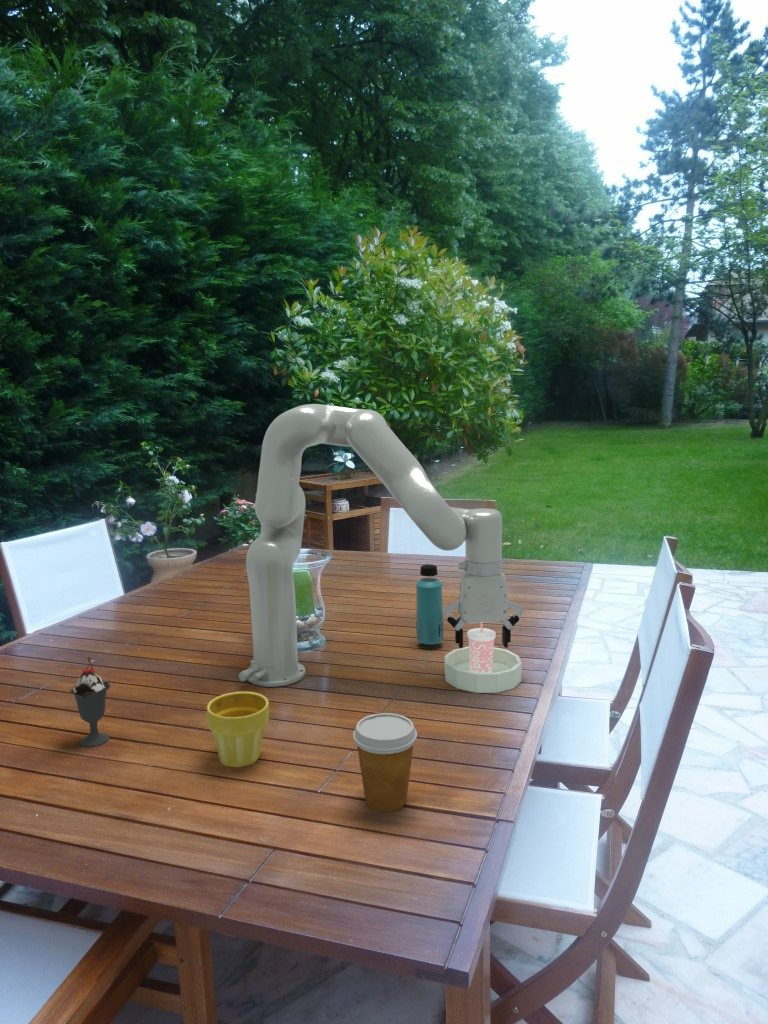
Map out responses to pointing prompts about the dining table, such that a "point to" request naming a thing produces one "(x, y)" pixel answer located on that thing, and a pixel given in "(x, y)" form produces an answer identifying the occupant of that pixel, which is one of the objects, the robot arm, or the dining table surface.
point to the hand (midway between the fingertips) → (482, 645)
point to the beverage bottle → (429, 607)
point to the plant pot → (238, 726)
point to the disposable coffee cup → (385, 759)
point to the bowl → (499, 680)
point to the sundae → (91, 704)
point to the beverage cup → (481, 649)
